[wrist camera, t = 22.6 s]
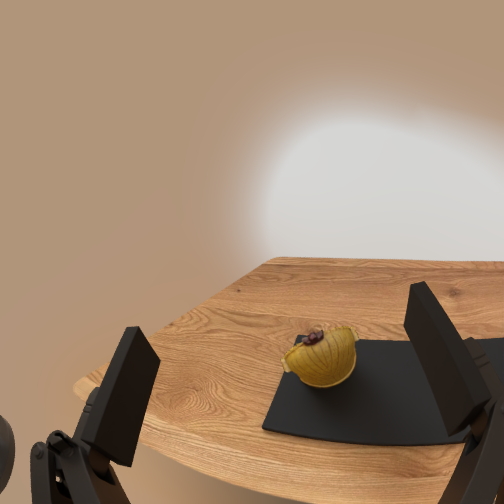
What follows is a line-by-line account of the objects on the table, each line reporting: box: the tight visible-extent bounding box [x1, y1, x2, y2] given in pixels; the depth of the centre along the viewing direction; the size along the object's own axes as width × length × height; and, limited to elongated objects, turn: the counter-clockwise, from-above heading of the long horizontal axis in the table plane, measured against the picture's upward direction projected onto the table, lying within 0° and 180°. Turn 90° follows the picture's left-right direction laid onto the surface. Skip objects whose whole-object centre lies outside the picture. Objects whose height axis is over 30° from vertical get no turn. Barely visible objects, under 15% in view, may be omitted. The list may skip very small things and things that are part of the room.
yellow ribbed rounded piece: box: [280, 326, 359, 389], centre depth 29 cm, size 12×8×15 cm
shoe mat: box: [262, 335, 504, 446], centre depth 27 cm, size 40×16×1 cm, turn 68°
